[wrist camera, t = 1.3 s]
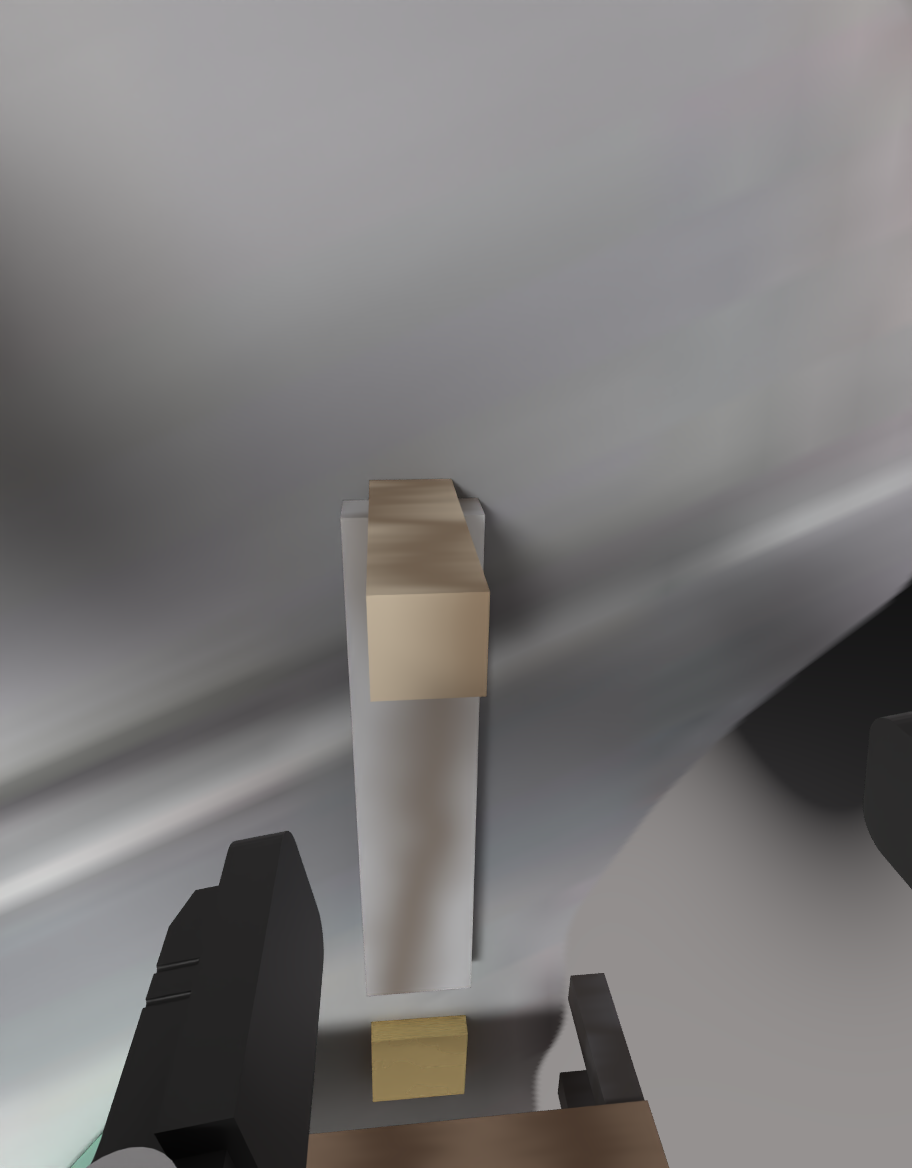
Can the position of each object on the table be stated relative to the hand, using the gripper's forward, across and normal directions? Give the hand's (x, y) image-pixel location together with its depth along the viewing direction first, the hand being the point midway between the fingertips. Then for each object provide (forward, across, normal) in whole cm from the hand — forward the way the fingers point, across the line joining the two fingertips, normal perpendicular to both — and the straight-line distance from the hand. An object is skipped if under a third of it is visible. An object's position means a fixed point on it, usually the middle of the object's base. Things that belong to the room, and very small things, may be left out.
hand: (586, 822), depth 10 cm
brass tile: (+19, +7, +31) cm, 37 cm away
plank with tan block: (+18, +4, +12) cm, 23 cm away
